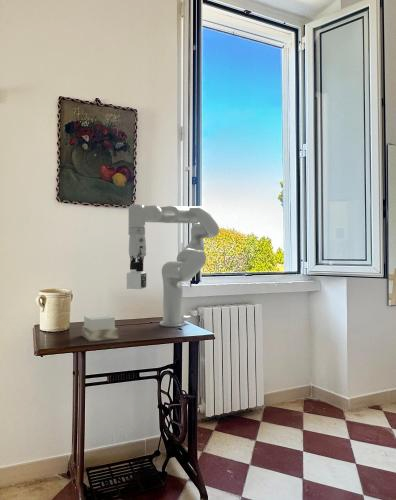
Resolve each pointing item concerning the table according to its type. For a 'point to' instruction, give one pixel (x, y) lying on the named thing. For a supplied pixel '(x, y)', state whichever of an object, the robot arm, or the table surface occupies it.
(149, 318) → the table surface
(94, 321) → the tower top block
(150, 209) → the robot arm
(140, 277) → the medicine bottle
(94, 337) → the tower base block
